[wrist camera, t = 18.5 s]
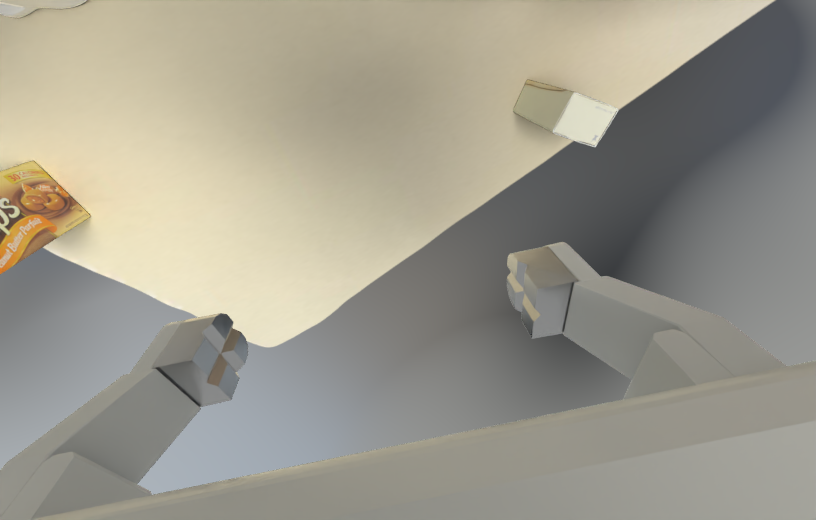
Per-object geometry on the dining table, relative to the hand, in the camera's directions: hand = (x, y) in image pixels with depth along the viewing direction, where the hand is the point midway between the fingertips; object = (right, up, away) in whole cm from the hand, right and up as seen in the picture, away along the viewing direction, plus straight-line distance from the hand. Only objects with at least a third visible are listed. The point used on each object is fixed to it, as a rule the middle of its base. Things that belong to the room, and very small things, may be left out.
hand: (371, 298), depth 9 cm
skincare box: (+19, +23, +34) cm, 46 cm away
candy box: (-49, +11, +34) cm, 61 cm away
